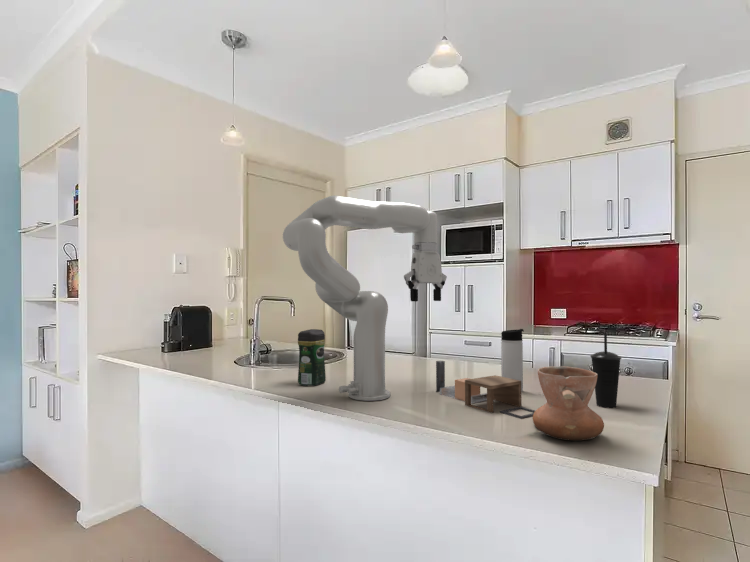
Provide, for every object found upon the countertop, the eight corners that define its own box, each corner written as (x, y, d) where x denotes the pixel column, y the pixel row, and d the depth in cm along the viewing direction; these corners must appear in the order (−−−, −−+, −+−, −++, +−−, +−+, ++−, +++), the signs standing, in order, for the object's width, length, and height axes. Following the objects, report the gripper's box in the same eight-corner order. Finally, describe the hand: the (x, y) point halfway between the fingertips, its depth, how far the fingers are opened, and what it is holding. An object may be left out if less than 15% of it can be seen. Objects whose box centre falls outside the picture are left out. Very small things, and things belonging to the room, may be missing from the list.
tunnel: (490, 418, 112) (490, 386, 112) (465, 410, 120) (464, 379, 120) (521, 411, 118) (521, 380, 119) (495, 403, 126) (495, 375, 126)
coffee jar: (310, 380, 159) (310, 327, 160) (329, 382, 156) (329, 328, 156) (293, 385, 151) (293, 330, 151) (313, 387, 147) (313, 331, 148)
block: (467, 401, 124) (467, 382, 124) (454, 397, 128) (454, 379, 128) (480, 398, 126) (480, 380, 126) (467, 395, 131) (467, 377, 131)
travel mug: (525, 397, 134) (524, 330, 134) (502, 396, 135) (501, 329, 135) (522, 392, 140) (522, 328, 140) (500, 391, 141) (500, 327, 141)
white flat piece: (471, 407, 121) (471, 370, 121) (429, 394, 136) (429, 361, 136) (489, 404, 125) (489, 368, 125) (446, 392, 140) (445, 359, 140)
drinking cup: (619, 403, 126) (618, 332, 127) (624, 410, 119) (623, 334, 120) (589, 401, 129) (588, 331, 129) (592, 407, 122) (592, 333, 122)
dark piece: (521, 424, 107) (521, 417, 107) (499, 418, 112) (499, 410, 112) (541, 419, 111) (541, 412, 111) (520, 413, 116) (520, 406, 116)
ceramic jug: (608, 452, 89) (608, 380, 89) (531, 443, 94) (530, 375, 94) (599, 426, 105) (598, 365, 106) (534, 420, 111) (533, 362, 111)
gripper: (411, 247, 140) (411, 301, 140) (453, 249, 150) (453, 301, 149) (397, 248, 146) (397, 301, 146) (438, 251, 156) (438, 300, 156)
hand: (425, 301), depth 148 cm, fingers open, 9 cm apart
